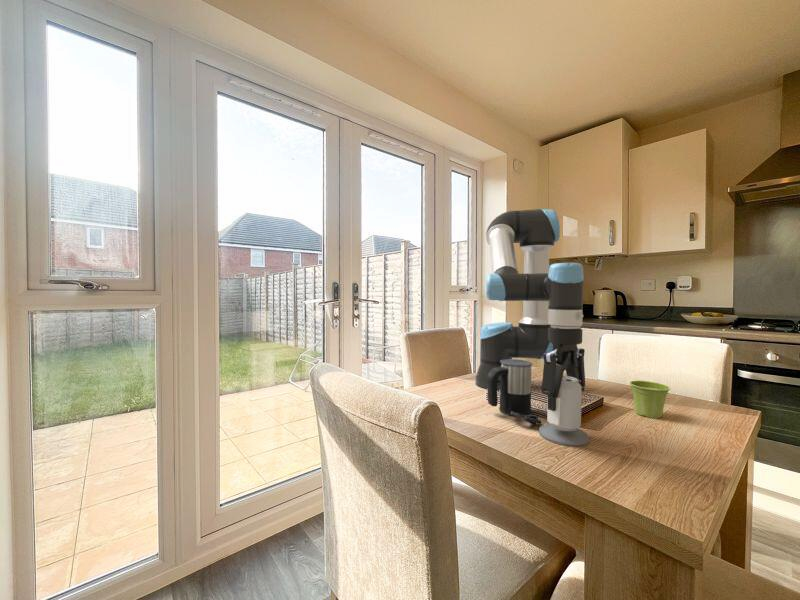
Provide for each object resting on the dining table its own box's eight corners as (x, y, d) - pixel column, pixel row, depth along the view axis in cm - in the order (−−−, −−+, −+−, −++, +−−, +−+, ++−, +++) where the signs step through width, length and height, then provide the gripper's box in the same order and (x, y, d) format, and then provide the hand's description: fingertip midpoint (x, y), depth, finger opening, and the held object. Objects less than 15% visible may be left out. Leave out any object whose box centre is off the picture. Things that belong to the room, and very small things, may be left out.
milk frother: (512, 404, 107) (512, 357, 106) (560, 419, 94) (561, 366, 94) (481, 413, 99) (482, 363, 98) (530, 432, 86) (531, 374, 85)
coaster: (530, 433, 85) (530, 429, 85) (556, 423, 91) (556, 420, 91) (572, 450, 76) (572, 447, 76) (598, 438, 82) (598, 435, 82)
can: (585, 426, 83) (586, 377, 83) (574, 435, 78) (575, 383, 78) (554, 417, 89) (554, 372, 88) (542, 426, 84) (542, 377, 83)
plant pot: (655, 409, 102) (656, 380, 102) (677, 421, 92) (678, 390, 92) (622, 408, 103) (622, 380, 102) (641, 420, 93) (642, 389, 93)
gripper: (554, 331, 74) (553, 434, 75) (602, 325, 85) (601, 416, 86) (525, 327, 80) (524, 423, 81) (573, 323, 91) (572, 407, 92)
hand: (563, 419), depth 83 cm, fingers closed on can, 7 cm apart
